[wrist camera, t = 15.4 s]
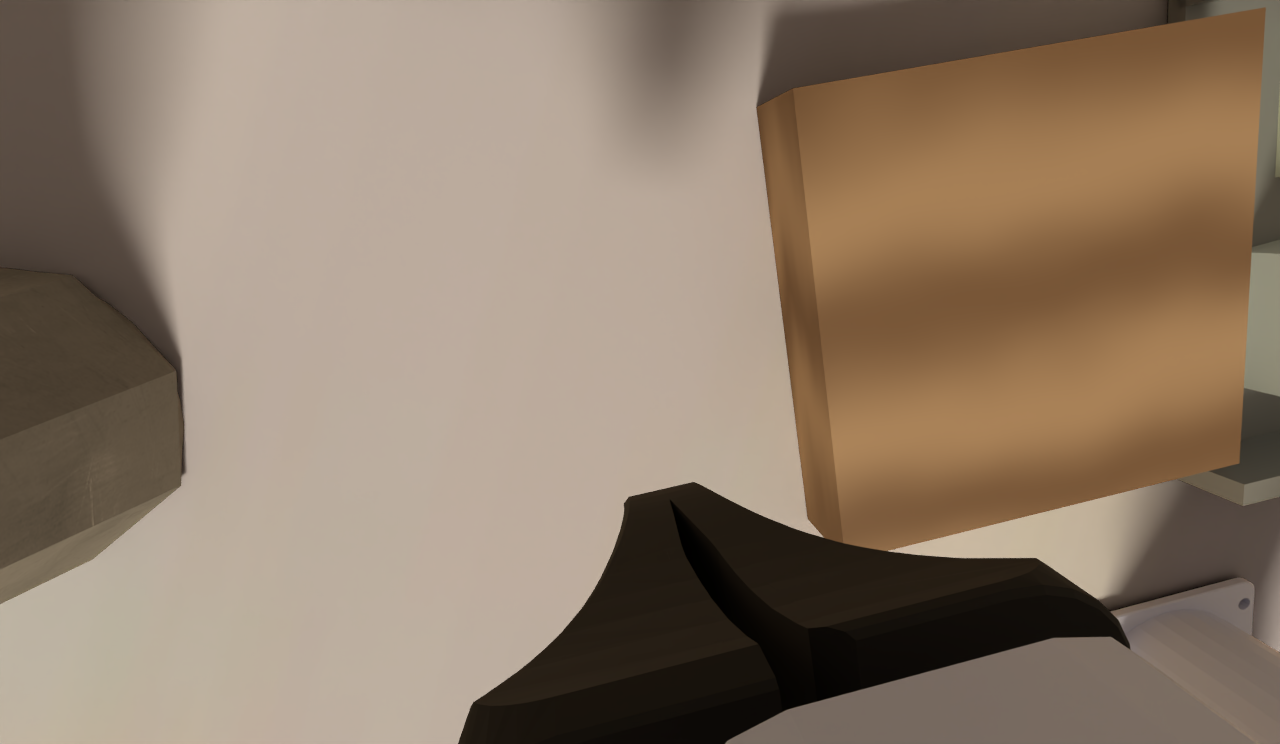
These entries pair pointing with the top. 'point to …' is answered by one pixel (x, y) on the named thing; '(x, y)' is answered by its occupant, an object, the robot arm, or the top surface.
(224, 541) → the top surface
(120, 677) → the top surface
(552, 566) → the top surface
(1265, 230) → the tray
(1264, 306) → the tile
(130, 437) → the coffeepot
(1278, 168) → the tile
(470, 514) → the top surface
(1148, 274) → the walnut board
